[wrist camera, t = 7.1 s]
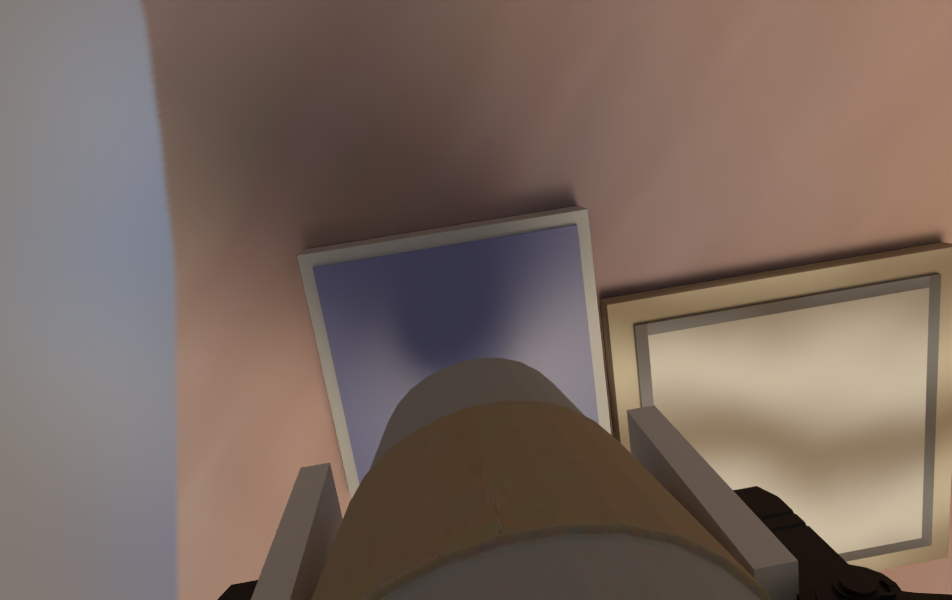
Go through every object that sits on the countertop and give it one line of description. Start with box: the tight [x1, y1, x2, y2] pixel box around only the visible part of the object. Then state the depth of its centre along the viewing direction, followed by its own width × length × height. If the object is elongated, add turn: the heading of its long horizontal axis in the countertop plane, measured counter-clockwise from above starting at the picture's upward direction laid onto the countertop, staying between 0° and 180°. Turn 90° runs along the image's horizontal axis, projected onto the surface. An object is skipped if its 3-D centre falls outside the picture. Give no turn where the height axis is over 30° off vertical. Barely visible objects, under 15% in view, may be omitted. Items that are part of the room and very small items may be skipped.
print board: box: [600, 242, 952, 571], centre depth 28 cm, size 15×15×1 cm
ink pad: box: [297, 206, 611, 499], centre depth 25 cm, size 11×11×2 cm
